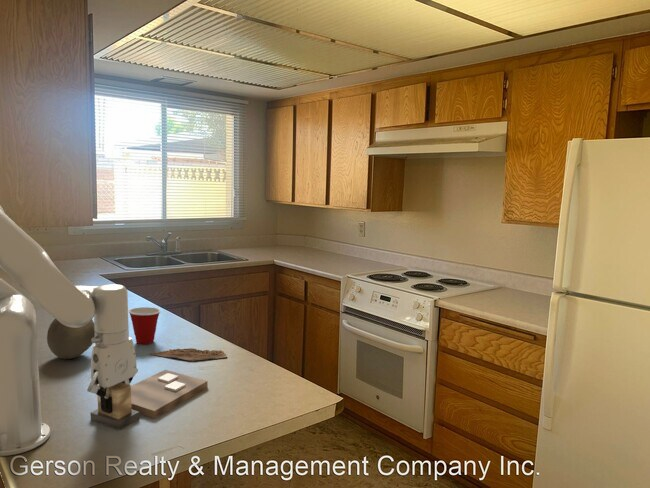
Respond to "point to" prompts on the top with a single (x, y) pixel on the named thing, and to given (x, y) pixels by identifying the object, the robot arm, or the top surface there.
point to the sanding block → (117, 408)
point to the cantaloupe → (69, 339)
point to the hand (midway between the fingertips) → (114, 406)
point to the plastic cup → (144, 324)
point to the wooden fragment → (192, 354)
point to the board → (163, 393)
